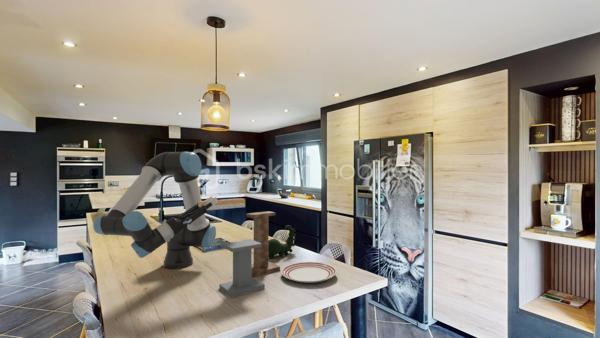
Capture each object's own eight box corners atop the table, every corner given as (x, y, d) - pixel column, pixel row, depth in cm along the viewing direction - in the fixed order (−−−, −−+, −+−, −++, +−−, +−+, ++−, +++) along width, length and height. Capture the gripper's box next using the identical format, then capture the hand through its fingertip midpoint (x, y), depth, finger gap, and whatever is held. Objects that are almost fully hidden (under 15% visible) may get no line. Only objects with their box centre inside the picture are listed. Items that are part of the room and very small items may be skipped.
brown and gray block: (201, 210, 139) (201, 201, 139) (198, 209, 142) (198, 201, 142) (245, 206, 153) (245, 198, 153) (241, 206, 156) (241, 198, 156)
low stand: (231, 297, 127) (231, 249, 127) (219, 288, 136) (219, 243, 136) (264, 288, 137) (264, 243, 137) (251, 280, 146) (251, 238, 146)
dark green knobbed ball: (287, 253, 199) (257, 258, 181) (289, 223, 200) (259, 225, 182) (297, 256, 193) (268, 261, 174) (299, 225, 194) (270, 227, 176)
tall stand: (253, 276, 151) (253, 215, 151) (241, 270, 161) (241, 213, 161) (280, 270, 161) (280, 213, 161) (267, 264, 170) (268, 210, 170)
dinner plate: (296, 291, 134) (296, 283, 134) (272, 272, 159) (272, 266, 159) (347, 281, 147) (347, 274, 147) (318, 264, 171) (318, 258, 171)
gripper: (168, 232, 141) (211, 203, 153) (180, 239, 127) (226, 207, 140) (160, 219, 138) (204, 191, 151) (170, 225, 125) (218, 193, 137)
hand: (214, 199), depth 145 cm, fingers closed on brown and gray block, 4 cm apart
